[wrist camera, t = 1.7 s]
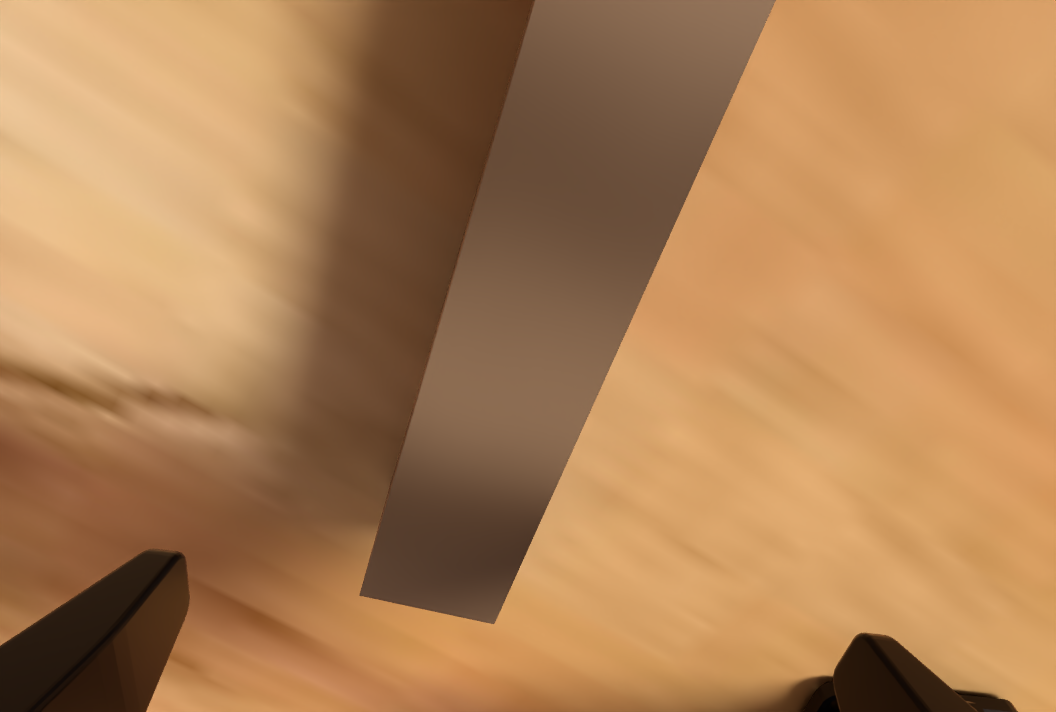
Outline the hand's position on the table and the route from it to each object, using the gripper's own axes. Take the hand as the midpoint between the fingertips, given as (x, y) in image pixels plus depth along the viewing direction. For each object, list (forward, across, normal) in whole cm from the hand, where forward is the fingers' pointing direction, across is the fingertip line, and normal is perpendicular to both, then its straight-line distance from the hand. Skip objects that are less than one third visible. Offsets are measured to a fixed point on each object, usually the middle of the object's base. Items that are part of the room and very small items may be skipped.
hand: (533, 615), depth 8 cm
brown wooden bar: (+7, 0, -5) cm, 8 cm away
